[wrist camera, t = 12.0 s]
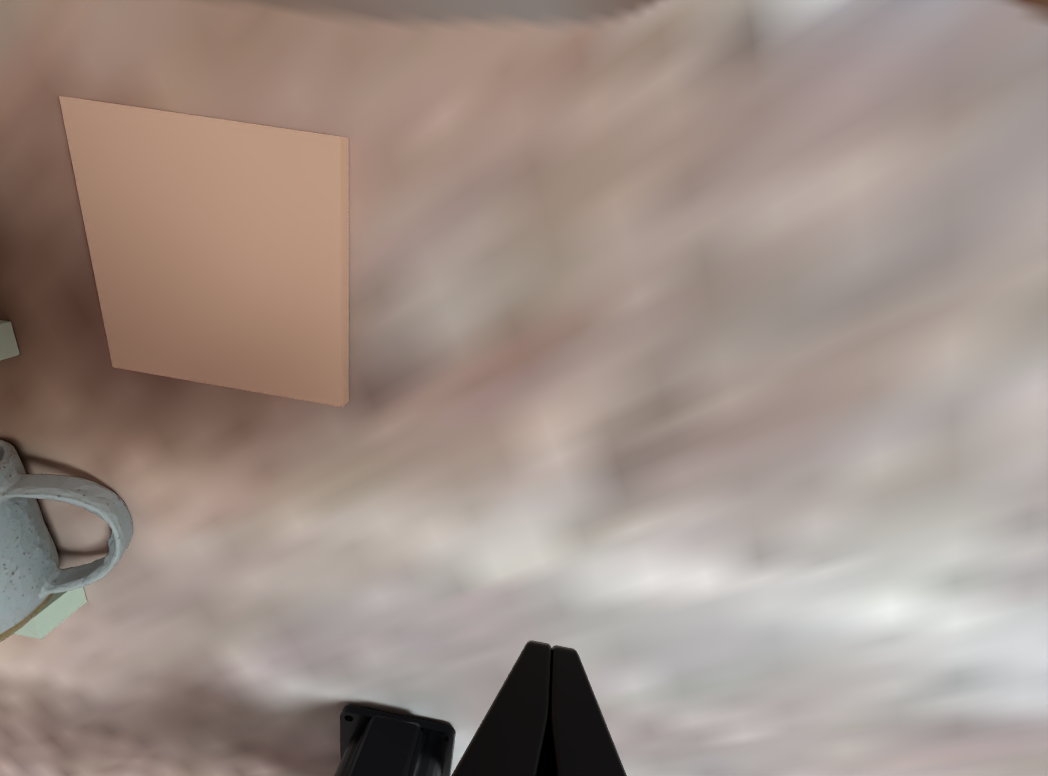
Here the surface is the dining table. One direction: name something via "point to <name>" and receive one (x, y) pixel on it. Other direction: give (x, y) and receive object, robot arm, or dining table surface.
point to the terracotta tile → (217, 247)
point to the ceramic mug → (46, 538)
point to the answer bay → (60, 604)
